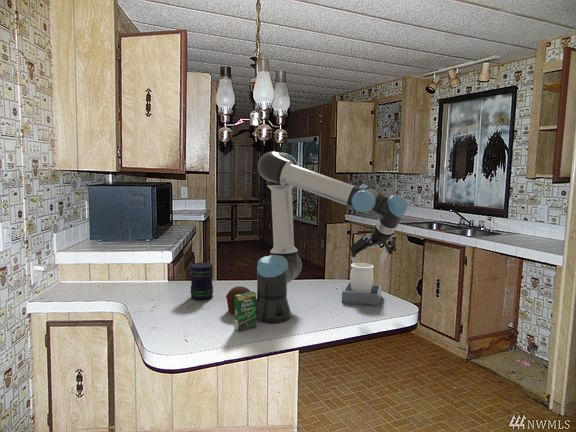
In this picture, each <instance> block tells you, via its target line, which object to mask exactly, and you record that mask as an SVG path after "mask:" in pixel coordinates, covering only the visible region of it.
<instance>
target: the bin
mask: <svg viewBox="0 0 576 432" xmlns="http://www.w3.org/2000/svg"><path fill="white" fill-rule="evenodd" d="M381 298H382V285H380V284H372V289H371V292H370V294H369V293H360V292H352V290H351V283H350V282H349V281H347V282H346V283H345V286H344V287H343V289H342V291H341V303H343V304H344V303H346V304H353V305H354V304H355V305H361V306H371V307H379V306H380V302H381Z"/></svg>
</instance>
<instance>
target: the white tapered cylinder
mask: <svg viewBox="0 0 576 432" xmlns="http://www.w3.org/2000/svg"><path fill="white" fill-rule="evenodd" d="M350 267H351V269H350V275H349V279H350V280H349V281H350V283H351V290H352V292H360V293H369V294H370V292H371V289H372V285H374V271H373V270H374V268H375V266H374V265H373V264H370V263H367V262H355V263H351V264H350Z"/></svg>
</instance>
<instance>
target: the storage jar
mask: <svg viewBox="0 0 576 432" xmlns="http://www.w3.org/2000/svg"><path fill="white" fill-rule="evenodd" d="M213 266H214V265H213V263H211V262H203V261H202V262H194V263H191V264H190V279H191V283H190V284H191V286H190V299H191V300H192V301H196V302H205V301H209V300H212V299H213V298H214V296H213V294H214V285H213V277H214V267H213Z"/></svg>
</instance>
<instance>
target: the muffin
mask: <svg viewBox="0 0 576 432" xmlns="http://www.w3.org/2000/svg"><path fill="white" fill-rule="evenodd" d="M248 292H252V291H251V290H250V289H249V288H247V287H245V286H235V287H232V288H230V290H228V292H227V294H226V295H225V298H226V303H227V308H228V310H227V311H228V313H229V314H231V315H233V316H234V295H238V294H243V293H248Z"/></svg>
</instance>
